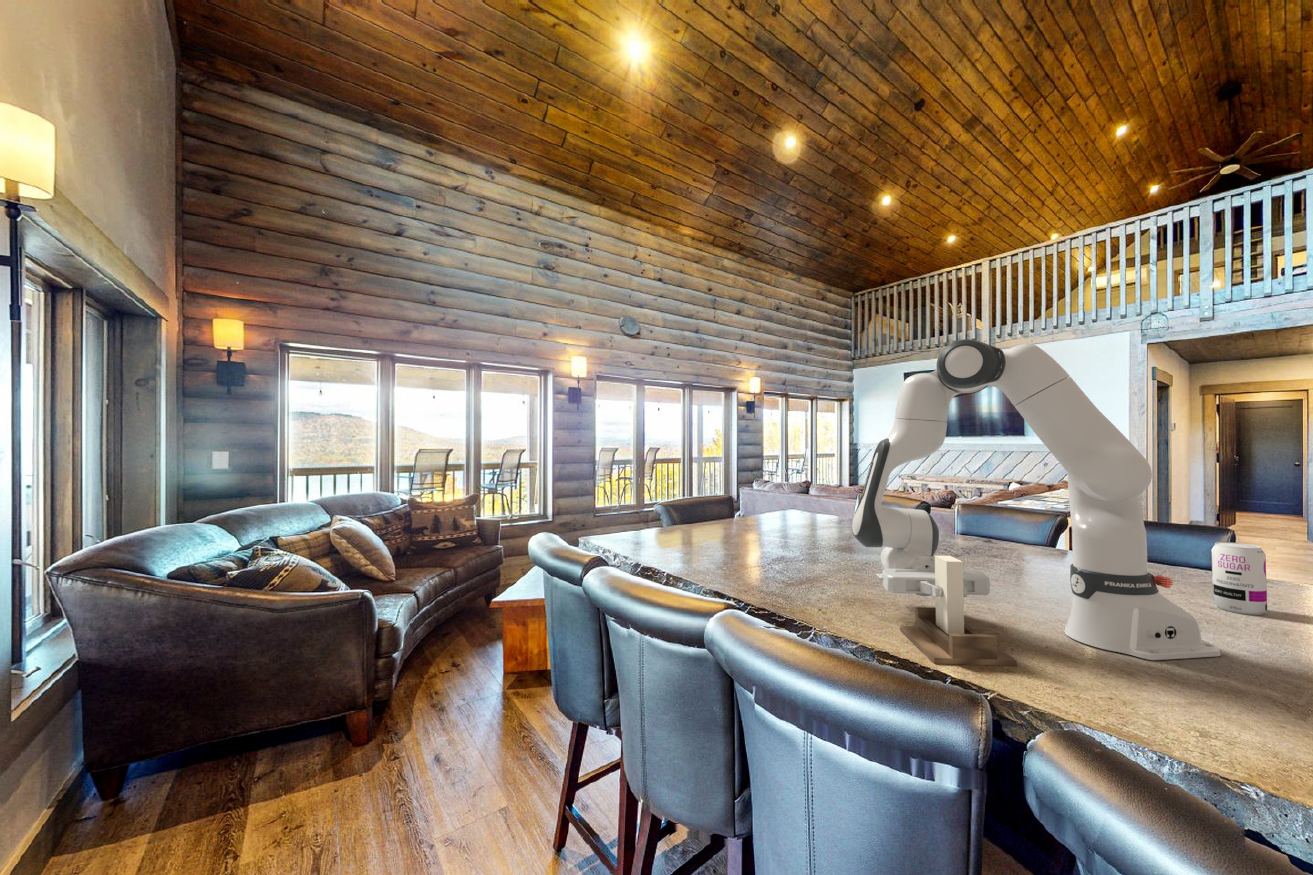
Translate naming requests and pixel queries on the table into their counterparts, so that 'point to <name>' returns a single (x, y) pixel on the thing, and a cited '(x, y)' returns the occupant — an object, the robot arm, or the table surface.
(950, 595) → the cream rectangular block
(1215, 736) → the table surface
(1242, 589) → the supplement can
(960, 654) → the track board
